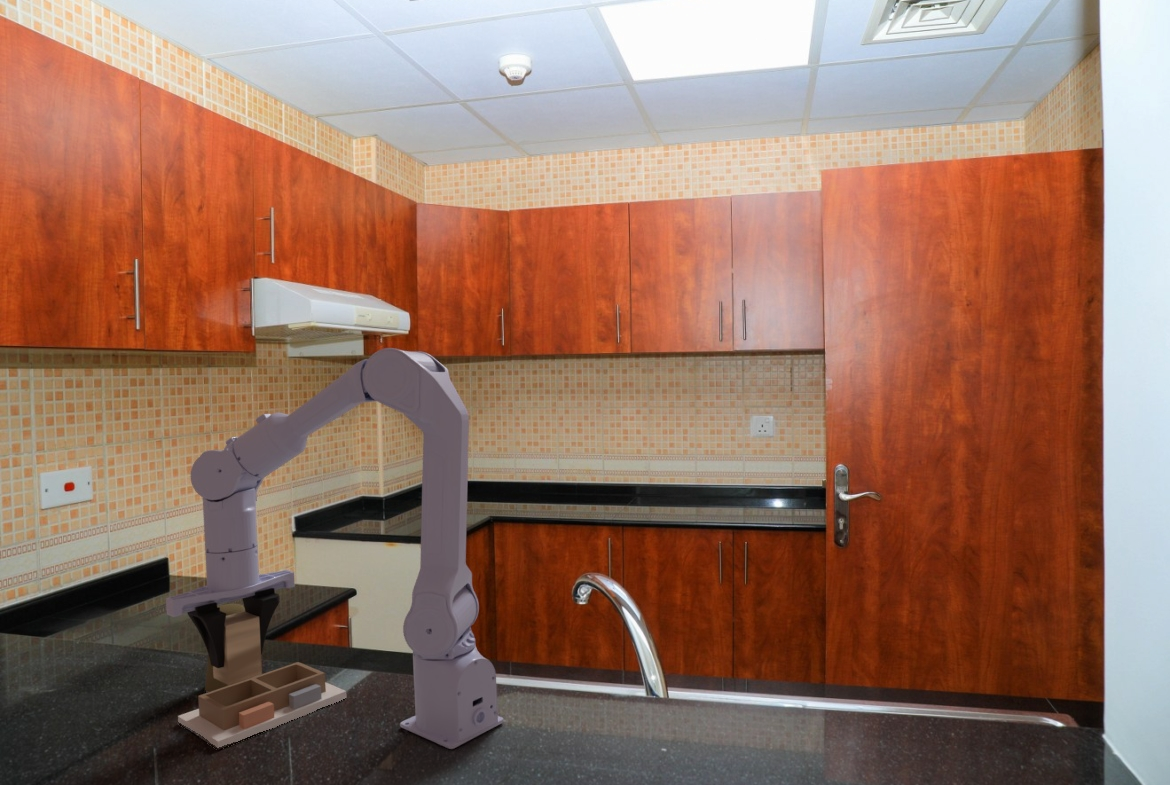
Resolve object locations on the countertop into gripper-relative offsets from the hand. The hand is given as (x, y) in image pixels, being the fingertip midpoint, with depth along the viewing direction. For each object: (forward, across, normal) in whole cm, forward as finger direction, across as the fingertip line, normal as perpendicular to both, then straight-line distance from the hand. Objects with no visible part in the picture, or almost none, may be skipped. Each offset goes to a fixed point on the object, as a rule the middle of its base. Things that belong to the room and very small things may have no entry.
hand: (237, 659), depth 88 cm
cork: (+8, -4, -12) cm, 15 cm away
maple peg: (+2, 0, 0) cm, 2 cm away
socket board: (+7, -3, 0) cm, 8 cm away
